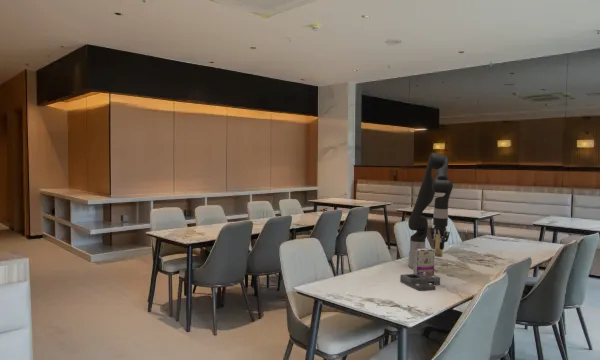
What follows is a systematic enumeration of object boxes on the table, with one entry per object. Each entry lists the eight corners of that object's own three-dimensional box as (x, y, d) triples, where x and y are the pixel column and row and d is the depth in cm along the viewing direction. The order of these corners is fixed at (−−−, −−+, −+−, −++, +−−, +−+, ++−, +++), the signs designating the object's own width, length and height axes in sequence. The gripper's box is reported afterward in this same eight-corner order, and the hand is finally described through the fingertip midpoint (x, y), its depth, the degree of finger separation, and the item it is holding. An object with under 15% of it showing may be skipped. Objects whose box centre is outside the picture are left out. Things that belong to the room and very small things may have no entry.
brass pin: (433, 255, 241) (434, 233, 240) (439, 255, 242) (440, 233, 242) (437, 257, 237) (439, 234, 237) (443, 256, 239) (445, 234, 238)
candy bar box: (429, 275, 264) (430, 247, 264) (433, 277, 260) (435, 249, 259) (412, 275, 262) (413, 248, 261) (416, 278, 257) (418, 250, 256)
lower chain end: (400, 281, 247) (400, 277, 247) (415, 280, 251) (415, 276, 251) (419, 291, 230) (419, 286, 230) (435, 289, 234) (435, 284, 234)
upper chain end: (400, 281, 247) (400, 273, 247) (428, 279, 254) (429, 271, 253) (410, 286, 238) (410, 278, 238) (439, 284, 244) (440, 276, 244)
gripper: (455, 218, 233) (453, 251, 234) (437, 215, 247) (436, 245, 248) (443, 218, 231) (441, 251, 232) (426, 215, 244) (424, 246, 245)
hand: (438, 248), depth 240 cm, fingers closed on brass pin, 4 cm apart
